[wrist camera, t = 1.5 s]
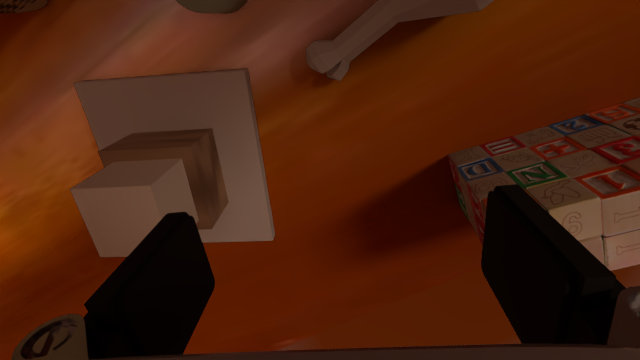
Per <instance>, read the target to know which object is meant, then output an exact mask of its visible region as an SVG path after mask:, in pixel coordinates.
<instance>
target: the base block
mask: <svg viewBox="0 0 640 360" xmlns="http://www.w3.org/2000/svg"><path fill="white" fill-rule="evenodd" d="M98 152H99V155H100V158H101V160H102V163H103V165H104V168H105V167H106V166H108V165H110V164H111V163H113V162H124V161H143V160H163V159H182V161H183V165H184V168H185V172H186V176H187V179H188V183H189V187H190V190H191V194H192V198H193V201H194V205H195V209H196V212H197V216H198V219H199V221H198V222H197V223H196V225H197V228H198V230H203V229H212V228H213V227H214V225H215V223H216V222H217V220H218V219H219V217H220V215H221V214H222V212H223V211H224V209H225V207H226V206H227V204H228V203H229V201H228V197H227V192H226V188H225V183H224V179H223V174H222V170H221V165H220V161H219V156H218V152H217V147H216V143H215V138H214V134H213V129H212V128H209V129H192V130H175V131H158V132H141V133H131V134H130V135H128V136H126V137H124V138H122V139H120V140H118V141H117V142H115V143H113V144H111V145H109V146H107V147H105V148H104V149H102V150H100V151H98Z"/></svg>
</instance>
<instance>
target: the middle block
mask: <svg viewBox="0 0 640 360" xmlns="http://www.w3.org/2000/svg"><path fill="white" fill-rule="evenodd" d="M70 191H71V193H72V195H73V197H74V200H75V202H76V204H77V206H78V208H79V211H80V213H81V215H82V217H83V220H84V222H85V224H86V226H87V229H88V231H89V233H90V235H91V238H92V240H93V242H94V244H95V246H96V249H97V251H98V253H99V255H100V257H128V256H129V254H130V253H131V252H132V251H133V250H134V249H135V248H136V247H137V246H138V245H139V243H140V242H141V241H142V240H143V239H144V238H145V237H146V236H147V235H148V234H149V232H150V231H151V230H152V229H153V228H154V227H155V226H156V225H157V224H158V223H159V221H160V220H161V219H162V218H163V217H164V216H165V215H166V214H167V213H175V212H187V213H188V214H189V216H193V218H194V220H195V222H196V223H197V222H198V221H199V219H198V216H197V212H196V209H195V205H194V201H193V198H192V194H191V190H190V187H189V183H188V179H187V176H186V172H185V168H184V165H183V161H182V159H163V160H143V161H124V162H113V163H111V164H110V165H108V166H106V167H105V168H103V169H102V170H100V171H98V172H97V173H95V174H93V175H92V176H90V177H89V178H87V179H85V180H84V181H82V182H81V183H79V184H77V185H76V186H74V187H73V188H71V189H70Z"/></svg>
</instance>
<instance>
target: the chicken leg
mask: <svg viewBox="0 0 640 360" xmlns="http://www.w3.org/2000/svg"><path fill="white" fill-rule="evenodd" d="M493 1H494V0H378V1H377V2H376V3H375V4H373V5H372V6H371V7H370V8H369V9H368V10H367V11H366V12H364V13H363V14H362V15H361V16H360V17H359V18H358V19H356V20H355V21H354V22H353V23H352V24H351V25H350V26H349V27H347V28H346V29H345V30H344V31H343V32H342V33H341V34H340V35H338V36H337V37H336V38H335V39H334V40H316V41H314V42H312V43H311V44H310V45H309V46H308V47H307V48H306V61H307V64H308V65H309V66H310V68H311V69H313V70H315V71H317V72H320V73H322V74H323V73H325V72H326V74H327V77H329V78H331V79H335V80H339V81H341V79H342V78H343V77H344V76H345V74H346V73H347V72H348V70H349V64H350V62H351V61H352V60H353V59H354V58H355V57H357V56H358V55H359V54H360V53H362V52H363V51H364V50H365V49H366V48H368V47H369V46H370V45H371V44H373V43H374V42H375V41H376V40H377V39H379V38H380V37H381V36H382V35H384V34H385V33H386V32H387V31H388V30H390V29H391V28H392V27H393V26H395V25H396V24H397V23H398V22H405V21H412V20H419V19H426V18H433V17H440V16H447V15H455V14H462V13H469V12H476V11H481V10H482V9H483V8H485V7H486V6H487V5H489V4H490V3H491V2H493Z"/></svg>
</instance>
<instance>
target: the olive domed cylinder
mask: <svg viewBox="0 0 640 360" xmlns="http://www.w3.org/2000/svg"><path fill="white" fill-rule="evenodd" d="M176 1H177V2H178V3H179V4H181V5H182V6H183V7H185V8H187V9H189V10H191V11H194V12H199V13H218V14H228V13H233V12H235V11H237V10H239V9H240V8H242V7H243V6H244V4H245V3H246V2H247V0H176Z"/></svg>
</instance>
